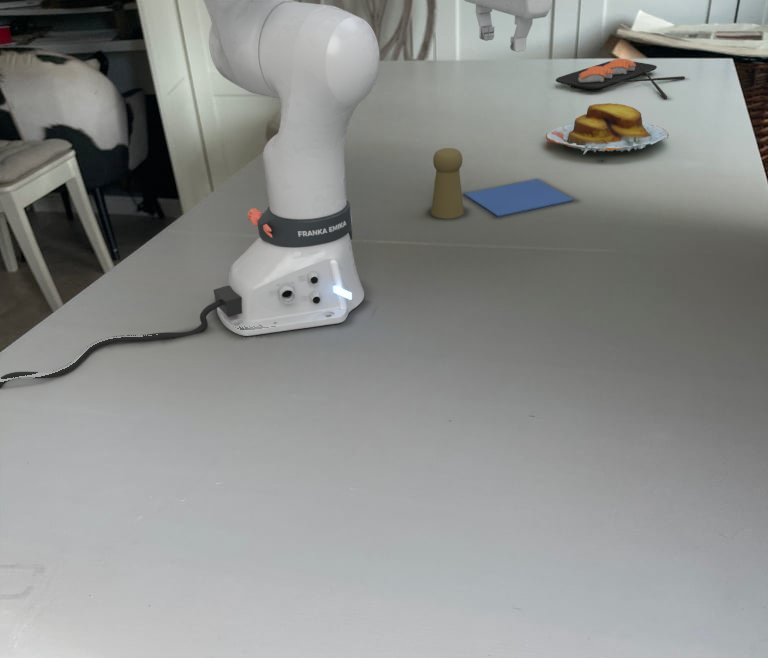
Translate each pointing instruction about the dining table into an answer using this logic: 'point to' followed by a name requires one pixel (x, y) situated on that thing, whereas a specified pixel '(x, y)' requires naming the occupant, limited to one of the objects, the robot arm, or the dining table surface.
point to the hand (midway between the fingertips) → (501, 45)
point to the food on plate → (608, 130)
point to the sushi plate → (611, 75)
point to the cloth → (518, 197)
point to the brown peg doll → (447, 184)
